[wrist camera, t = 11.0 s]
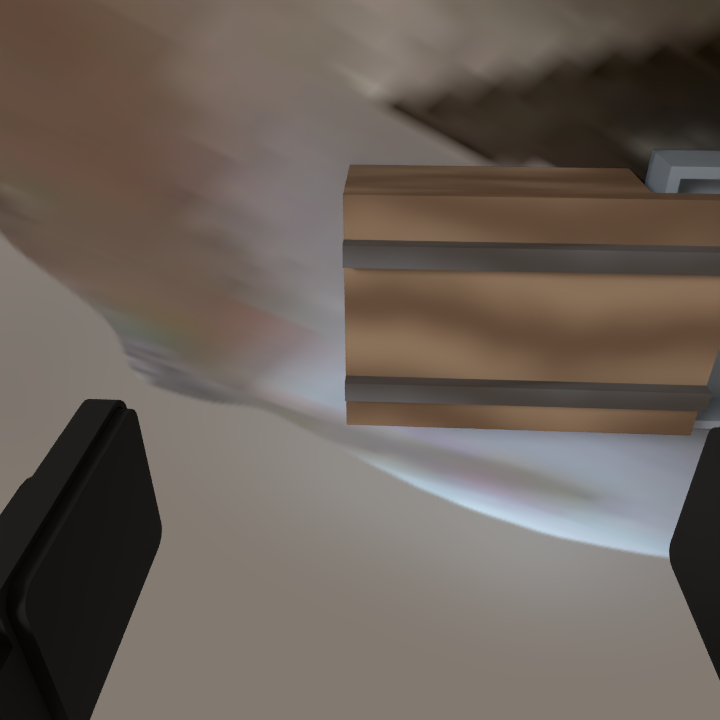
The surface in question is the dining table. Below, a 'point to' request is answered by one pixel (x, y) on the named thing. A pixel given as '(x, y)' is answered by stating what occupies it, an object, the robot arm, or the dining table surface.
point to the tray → (690, 176)
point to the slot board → (528, 299)
